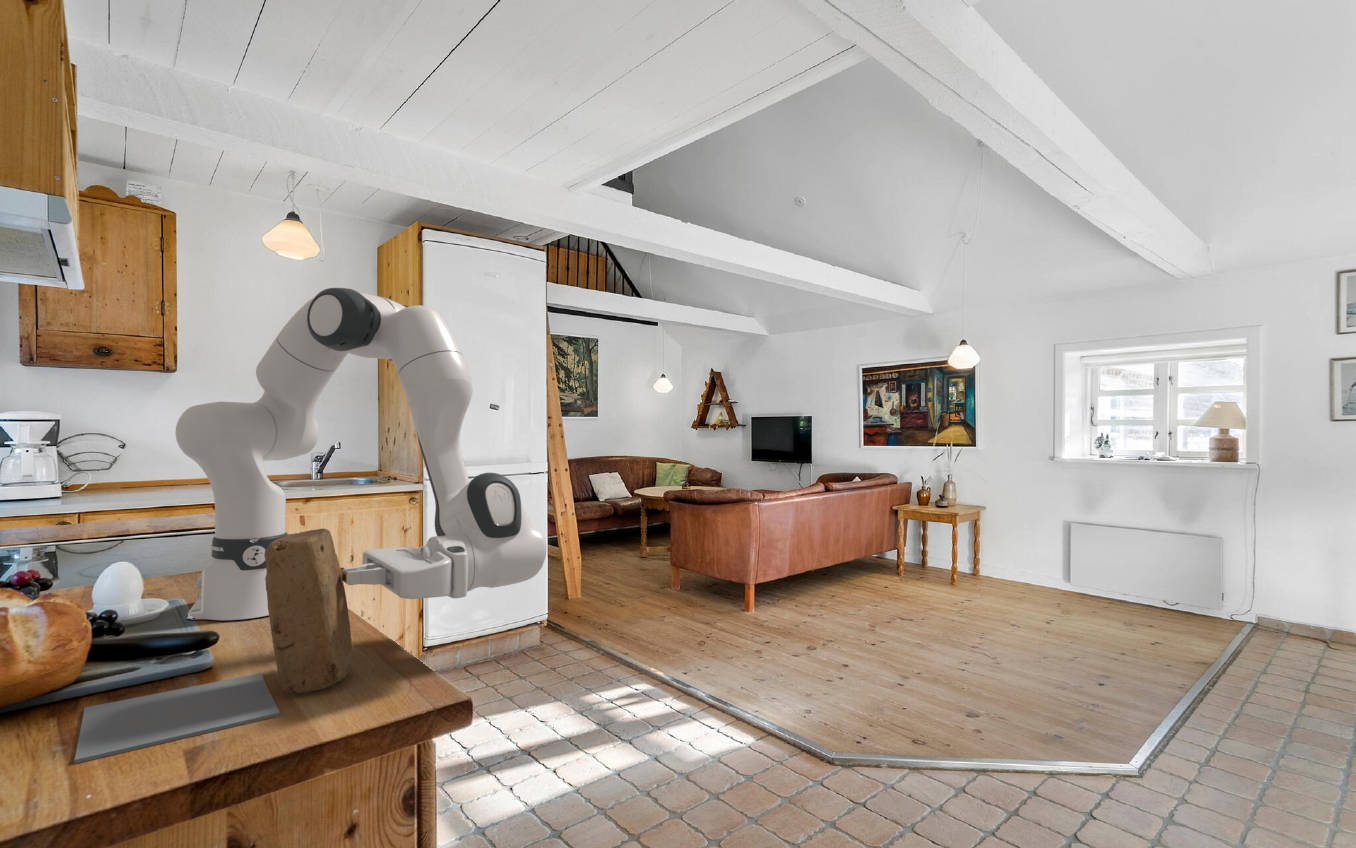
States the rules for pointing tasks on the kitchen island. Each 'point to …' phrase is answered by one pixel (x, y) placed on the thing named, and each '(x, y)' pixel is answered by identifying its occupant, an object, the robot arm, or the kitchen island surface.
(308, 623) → the block
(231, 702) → the mat
